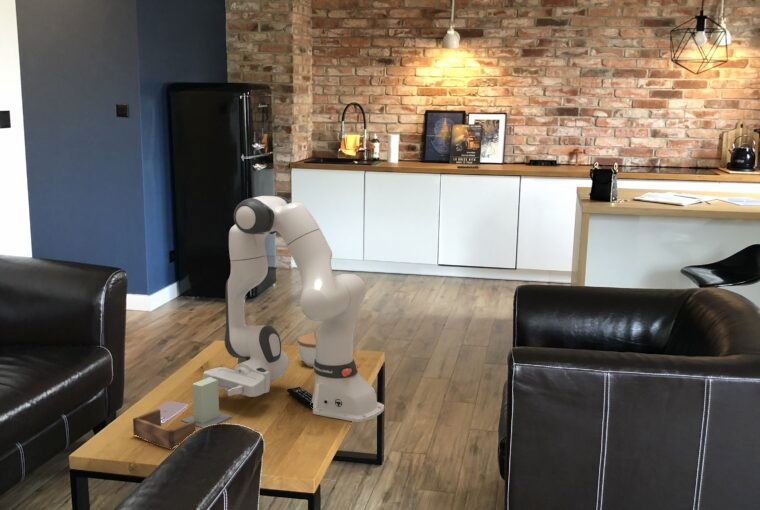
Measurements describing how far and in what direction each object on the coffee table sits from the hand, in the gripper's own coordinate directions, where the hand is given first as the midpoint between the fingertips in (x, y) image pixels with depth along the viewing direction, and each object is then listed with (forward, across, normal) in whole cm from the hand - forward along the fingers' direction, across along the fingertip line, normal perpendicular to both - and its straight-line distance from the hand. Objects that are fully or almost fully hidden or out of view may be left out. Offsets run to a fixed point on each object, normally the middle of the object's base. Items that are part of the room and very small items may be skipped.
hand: (214, 389), depth 233 cm
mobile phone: (+6, -14, +9) cm, 18 cm away
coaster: (+3, 0, +8) cm, 9 cm away
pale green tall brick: (+3, 0, +8) cm, 9 cm away
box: (-27, -13, +8) cm, 31 cm away
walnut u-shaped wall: (+18, -1, +8) cm, 20 cm away
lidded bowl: (-53, -4, +8) cm, 54 cm away
